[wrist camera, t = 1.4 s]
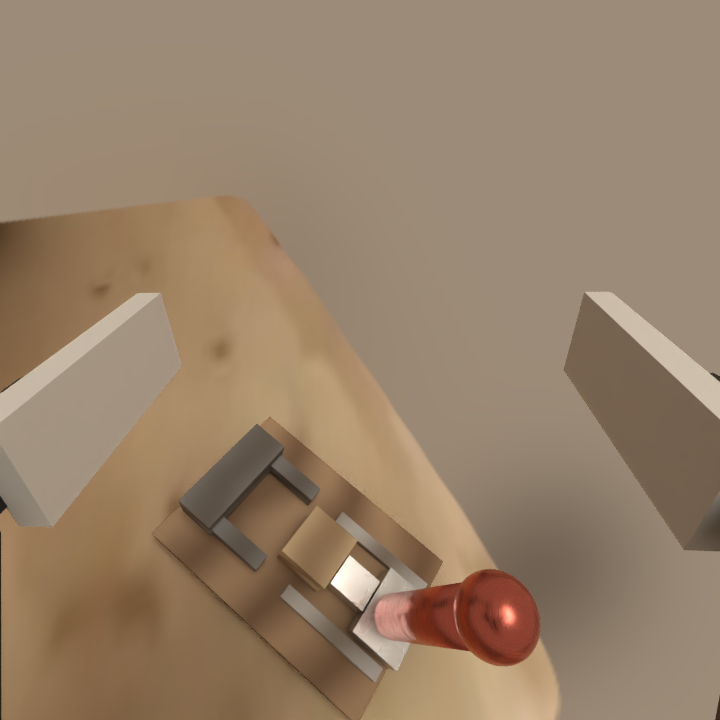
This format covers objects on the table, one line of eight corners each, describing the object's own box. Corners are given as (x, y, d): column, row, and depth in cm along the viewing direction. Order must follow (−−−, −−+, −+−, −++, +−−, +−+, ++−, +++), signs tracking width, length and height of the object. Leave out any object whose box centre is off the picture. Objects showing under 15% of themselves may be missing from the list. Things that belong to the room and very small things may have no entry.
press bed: (155, 537, 33) (143, 524, 29) (268, 424, 40) (273, 399, 36) (350, 719, 31) (371, 737, 26) (433, 563, 38) (461, 556, 33)
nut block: (276, 557, 33) (281, 550, 30) (308, 516, 35) (316, 505, 32) (315, 591, 32) (324, 588, 29) (345, 547, 35) (357, 540, 31)
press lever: (313, 601, 32) (389, 586, 17) (353, 543, 35) (447, 487, 20) (388, 668, 31) (538, 715, 16) (421, 603, 34) (576, 590, 19)
